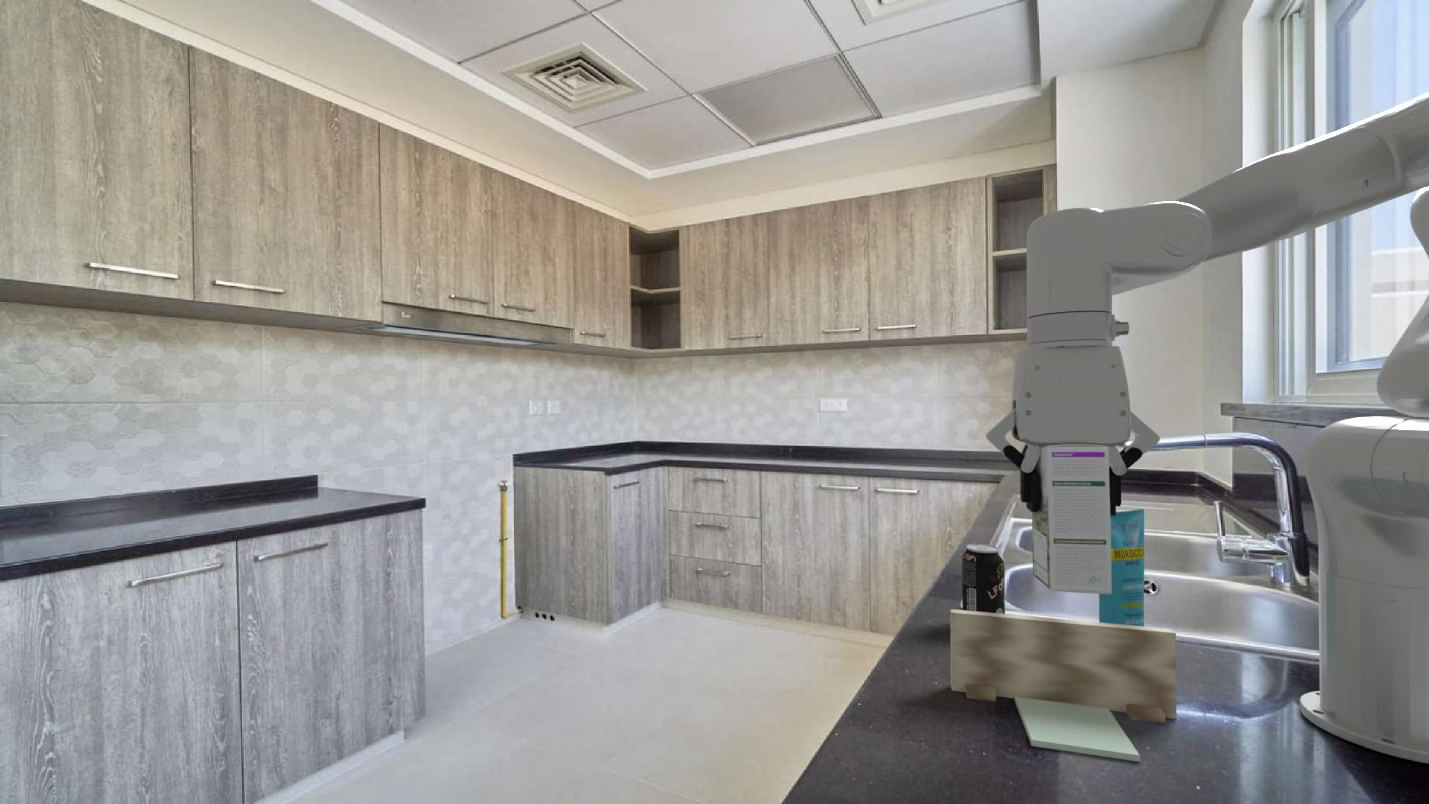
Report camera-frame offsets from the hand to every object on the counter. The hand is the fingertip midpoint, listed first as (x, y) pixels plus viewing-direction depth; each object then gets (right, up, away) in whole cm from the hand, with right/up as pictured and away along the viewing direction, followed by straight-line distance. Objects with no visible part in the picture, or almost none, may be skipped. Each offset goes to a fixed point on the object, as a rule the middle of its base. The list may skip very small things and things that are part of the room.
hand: (1069, 510), depth 61 cm
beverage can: (+4, -23, +28) cm, 36 cm away
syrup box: (0, -8, 0) cm, 8 cm away
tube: (+17, -22, +17) cm, 33 cm away
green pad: (0, -22, 0) cm, 22 cm away
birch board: (+2, -22, +6) cm, 23 cm away
